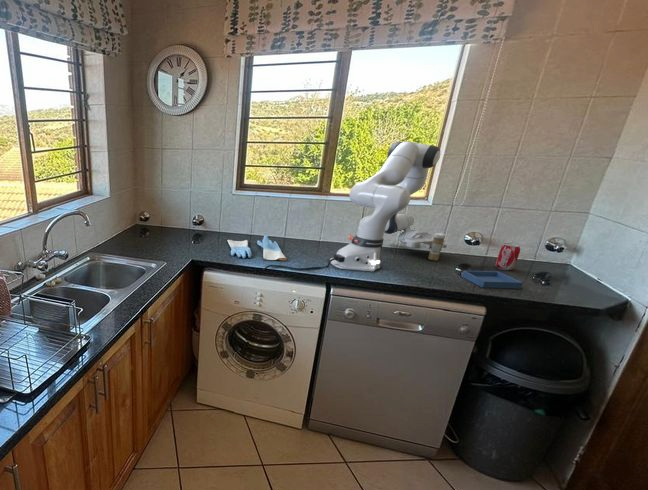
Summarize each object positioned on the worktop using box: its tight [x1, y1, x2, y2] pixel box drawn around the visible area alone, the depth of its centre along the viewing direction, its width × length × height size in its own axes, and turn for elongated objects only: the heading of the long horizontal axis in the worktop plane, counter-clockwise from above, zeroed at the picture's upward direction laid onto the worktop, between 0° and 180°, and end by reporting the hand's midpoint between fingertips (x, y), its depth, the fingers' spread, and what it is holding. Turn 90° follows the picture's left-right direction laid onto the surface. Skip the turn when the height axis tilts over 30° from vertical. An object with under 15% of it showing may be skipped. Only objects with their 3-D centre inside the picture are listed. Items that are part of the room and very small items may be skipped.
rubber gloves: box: [227, 234, 288, 261], centre depth 216 cm, size 27×33×6 cm
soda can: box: [494, 242, 521, 271], centre depth 191 cm, size 7×7×12 cm
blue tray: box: [460, 270, 523, 290], centre depth 176 cm, size 16×14×3 cm
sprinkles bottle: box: [427, 232, 446, 261], centre depth 203 cm, size 5×5×13 cm
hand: (437, 246), depth 202 cm, fingers open, 8 cm apart
